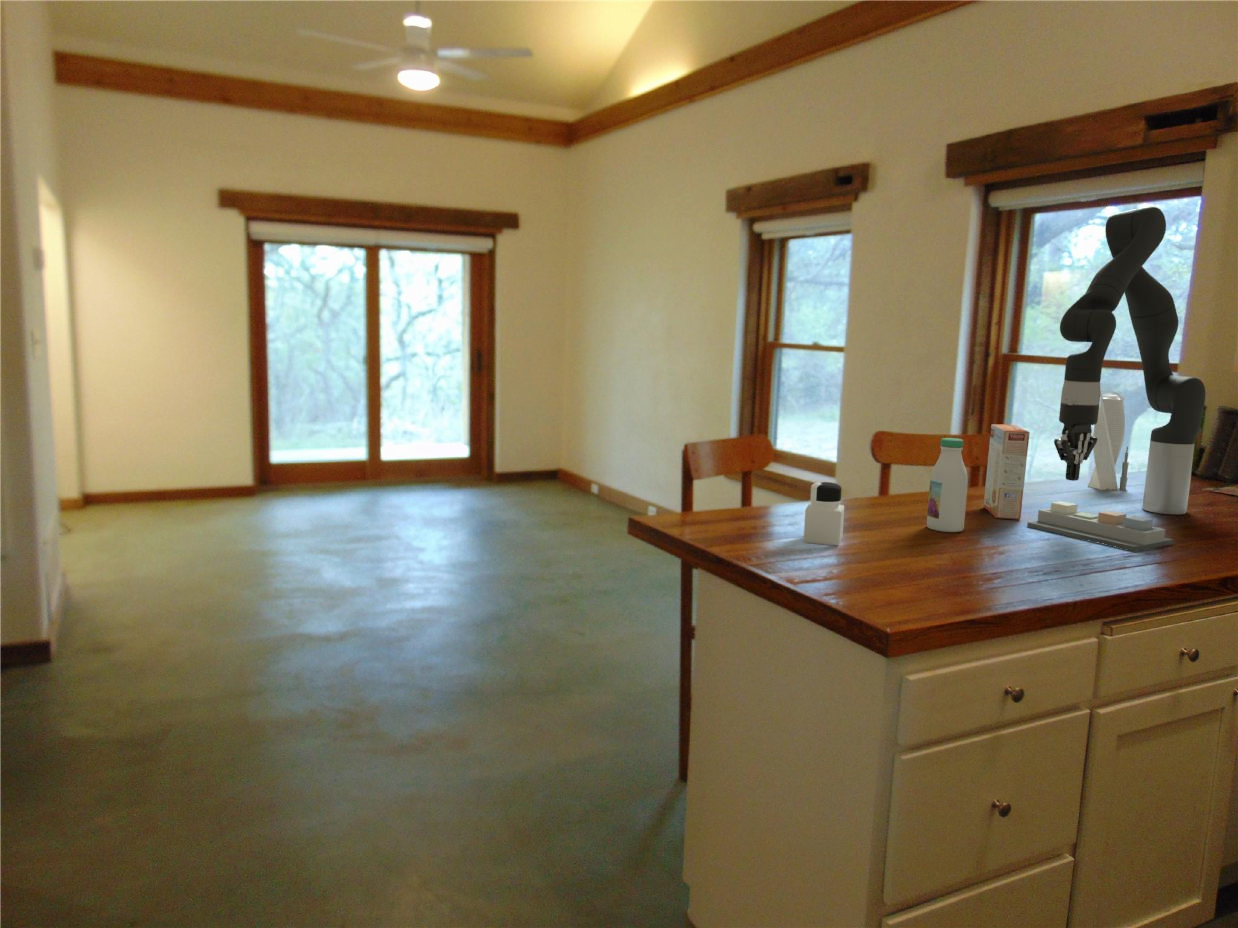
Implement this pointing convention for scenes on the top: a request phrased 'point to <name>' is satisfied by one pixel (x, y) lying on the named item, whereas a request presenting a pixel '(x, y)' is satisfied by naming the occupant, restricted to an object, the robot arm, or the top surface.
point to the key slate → (1138, 523)
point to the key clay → (1111, 517)
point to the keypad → (1100, 531)
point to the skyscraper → (1109, 444)
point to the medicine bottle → (824, 515)
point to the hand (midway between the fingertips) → (1071, 479)
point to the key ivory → (1064, 507)
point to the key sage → (1086, 516)
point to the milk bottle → (948, 489)
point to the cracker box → (1006, 471)
